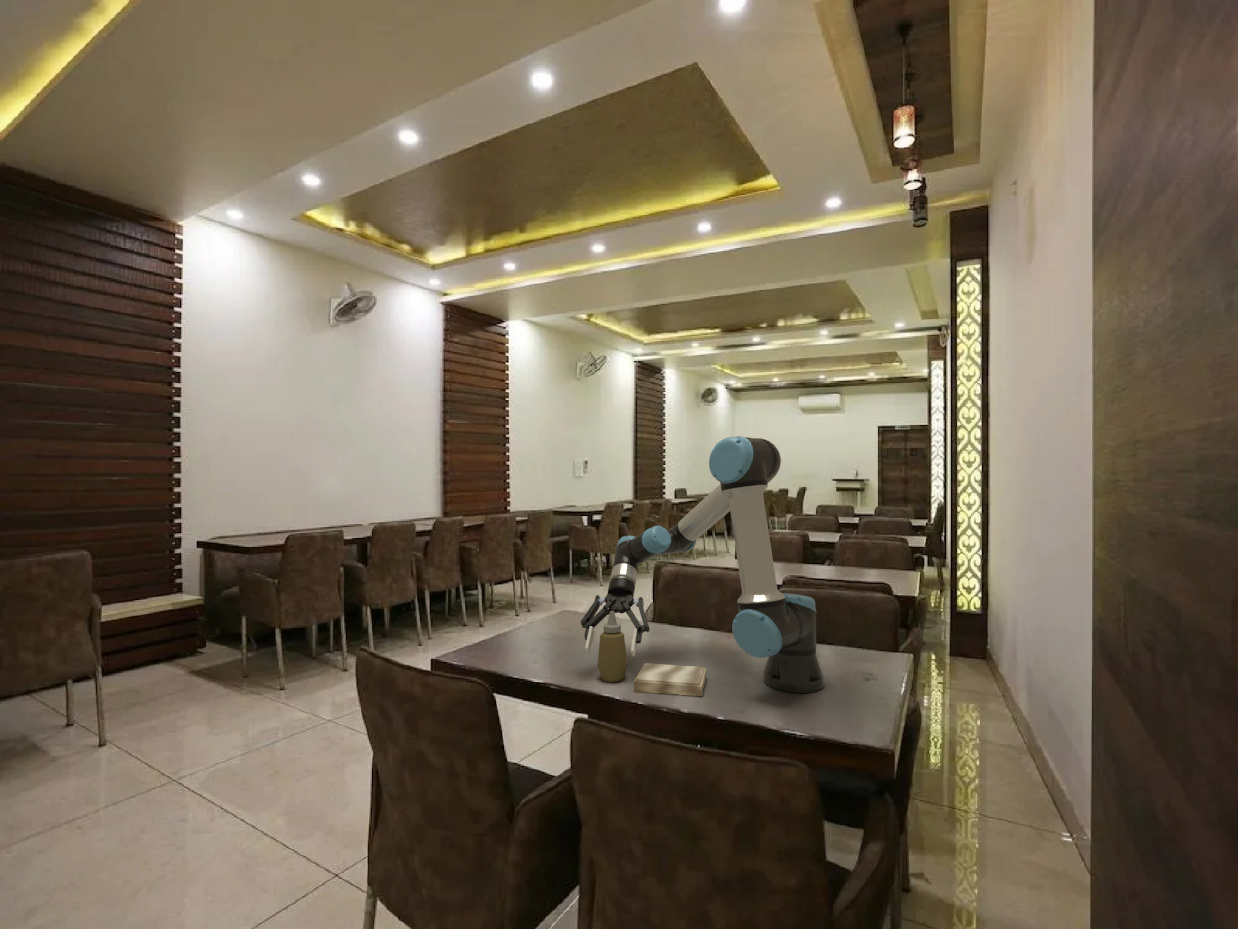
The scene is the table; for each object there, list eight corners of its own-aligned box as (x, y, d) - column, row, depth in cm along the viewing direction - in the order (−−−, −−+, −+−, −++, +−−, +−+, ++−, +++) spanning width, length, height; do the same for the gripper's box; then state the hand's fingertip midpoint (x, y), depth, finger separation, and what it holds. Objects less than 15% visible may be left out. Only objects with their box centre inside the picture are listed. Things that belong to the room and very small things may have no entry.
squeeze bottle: (601, 685, 152) (601, 615, 153) (594, 675, 160) (594, 609, 160) (631, 682, 154) (630, 613, 155) (622, 672, 162) (622, 607, 163)
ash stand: (706, 678, 157) (706, 666, 158) (701, 697, 144) (701, 684, 144) (644, 673, 161) (644, 662, 161) (633, 691, 148) (633, 679, 148)
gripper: (665, 592, 170) (656, 662, 155) (585, 589, 175) (569, 656, 160) (662, 577, 165) (653, 647, 150) (580, 574, 170) (563, 642, 155)
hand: (609, 652), depth 155 cm, fingers open, 12 cm apart
